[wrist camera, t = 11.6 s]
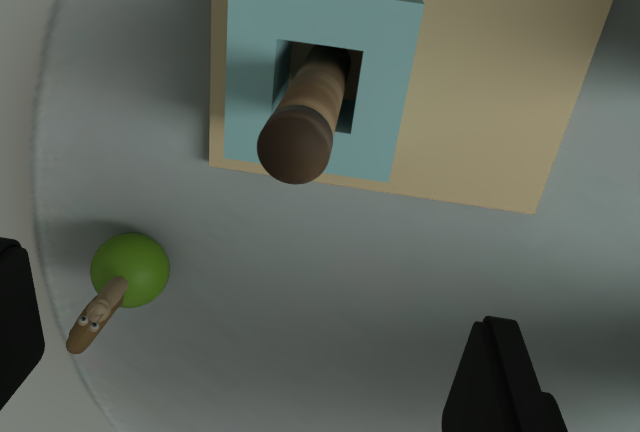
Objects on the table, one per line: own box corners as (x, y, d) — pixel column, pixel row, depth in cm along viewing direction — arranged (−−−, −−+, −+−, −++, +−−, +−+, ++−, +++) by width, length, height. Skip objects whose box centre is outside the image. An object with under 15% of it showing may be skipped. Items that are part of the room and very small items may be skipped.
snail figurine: (198, 236, 39) (132, 348, 29) (160, 289, 42) (88, 409, 32) (134, 197, 38) (41, 298, 28) (100, 254, 41) (5, 365, 30)
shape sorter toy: (610, -15, 28) (674, 0, 22) (530, 207, 35) (562, 265, 29) (217, -68, 29) (174, -68, 23) (213, 160, 36) (179, 207, 30)
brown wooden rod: (354, 42, 30) (334, 120, 18) (348, 87, 32) (325, 189, 19) (308, 36, 30) (258, 109, 18) (304, 81, 32) (255, 178, 20)
